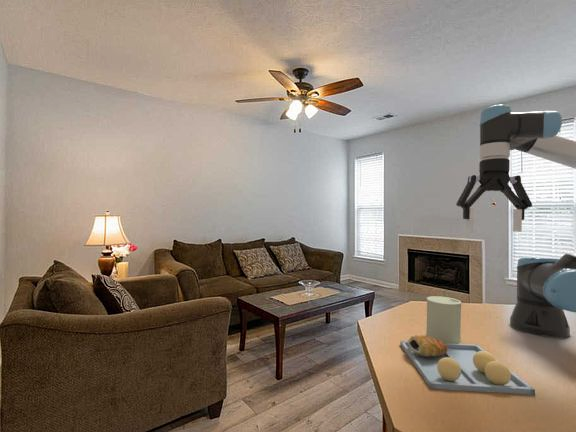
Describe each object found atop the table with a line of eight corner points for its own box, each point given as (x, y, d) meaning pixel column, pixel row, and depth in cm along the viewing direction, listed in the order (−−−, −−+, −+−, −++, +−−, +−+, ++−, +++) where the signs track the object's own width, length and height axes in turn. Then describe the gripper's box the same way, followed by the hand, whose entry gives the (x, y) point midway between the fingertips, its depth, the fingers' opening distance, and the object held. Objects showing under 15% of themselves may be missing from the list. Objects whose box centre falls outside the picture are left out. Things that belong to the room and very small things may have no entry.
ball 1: (489, 367, 73) (489, 348, 73) (501, 378, 69) (501, 356, 69) (468, 366, 74) (469, 347, 74) (479, 376, 69) (479, 355, 69)
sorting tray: (477, 350, 84) (477, 344, 84) (534, 397, 62) (535, 389, 62) (400, 346, 86) (400, 341, 86) (430, 391, 64) (430, 383, 64)
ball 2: (502, 378, 68) (502, 357, 68) (515, 390, 64) (516, 367, 64) (480, 377, 69) (480, 356, 69) (492, 389, 64) (492, 366, 64)
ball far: (455, 375, 70) (455, 354, 70) (465, 386, 65) (465, 363, 65) (433, 373, 70) (433, 353, 70) (442, 384, 65) (442, 362, 65)
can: (465, 347, 86) (466, 303, 86) (429, 344, 88) (430, 301, 88) (455, 335, 95) (455, 295, 95) (422, 332, 97) (423, 293, 97)
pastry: (435, 345, 84) (436, 330, 84) (454, 356, 78) (455, 341, 77) (404, 347, 82) (405, 332, 82) (421, 359, 75) (422, 343, 75)
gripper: (529, 161, 97) (528, 231, 97) (445, 161, 98) (444, 229, 98) (548, 157, 89) (546, 232, 89) (456, 156, 91) (455, 230, 91)
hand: (493, 231), depth 94 cm, fingers open, 13 cm apart
